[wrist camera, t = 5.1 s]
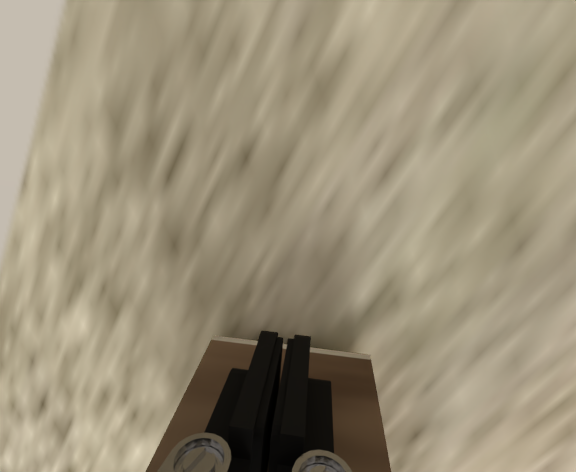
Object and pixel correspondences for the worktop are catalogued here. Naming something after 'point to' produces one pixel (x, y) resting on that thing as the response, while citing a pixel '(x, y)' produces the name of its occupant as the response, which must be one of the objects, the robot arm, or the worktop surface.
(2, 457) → the worktop surface
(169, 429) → the letter block
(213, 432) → the robot arm
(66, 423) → the worktop surface
